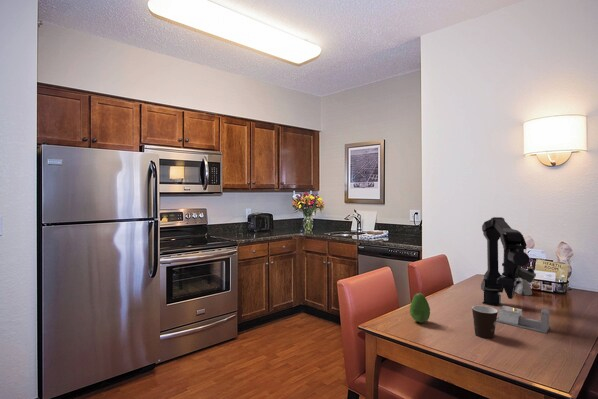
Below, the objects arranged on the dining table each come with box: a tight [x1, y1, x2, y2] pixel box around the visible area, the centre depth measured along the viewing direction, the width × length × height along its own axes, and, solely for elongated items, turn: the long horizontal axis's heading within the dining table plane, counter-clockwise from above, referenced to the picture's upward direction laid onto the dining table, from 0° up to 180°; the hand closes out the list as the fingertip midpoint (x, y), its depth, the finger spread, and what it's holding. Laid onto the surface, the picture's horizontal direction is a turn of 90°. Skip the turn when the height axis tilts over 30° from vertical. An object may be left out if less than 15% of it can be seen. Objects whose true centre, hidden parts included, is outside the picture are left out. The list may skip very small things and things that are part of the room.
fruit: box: [409, 292, 431, 324], centre depth 145 cm, size 8×8×12 cm
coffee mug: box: [471, 305, 499, 340], centre depth 133 cm, size 12×9×10 cm
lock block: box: [498, 305, 523, 325], centre depth 146 cm, size 7×6×6 cm
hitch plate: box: [496, 307, 551, 334], centre depth 143 cm, size 18×8×9 cm, turn 46°
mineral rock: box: [514, 278, 533, 296], centre depth 189 cm, size 13×11×10 cm
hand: (510, 298), depth 146 cm, fingers closed
